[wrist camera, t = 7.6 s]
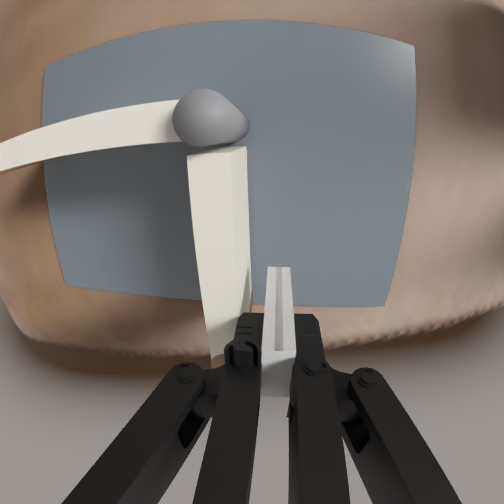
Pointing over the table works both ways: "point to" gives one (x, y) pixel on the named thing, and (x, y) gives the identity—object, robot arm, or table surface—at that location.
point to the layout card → (258, 158)
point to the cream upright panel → (221, 240)
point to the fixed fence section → (131, 129)
